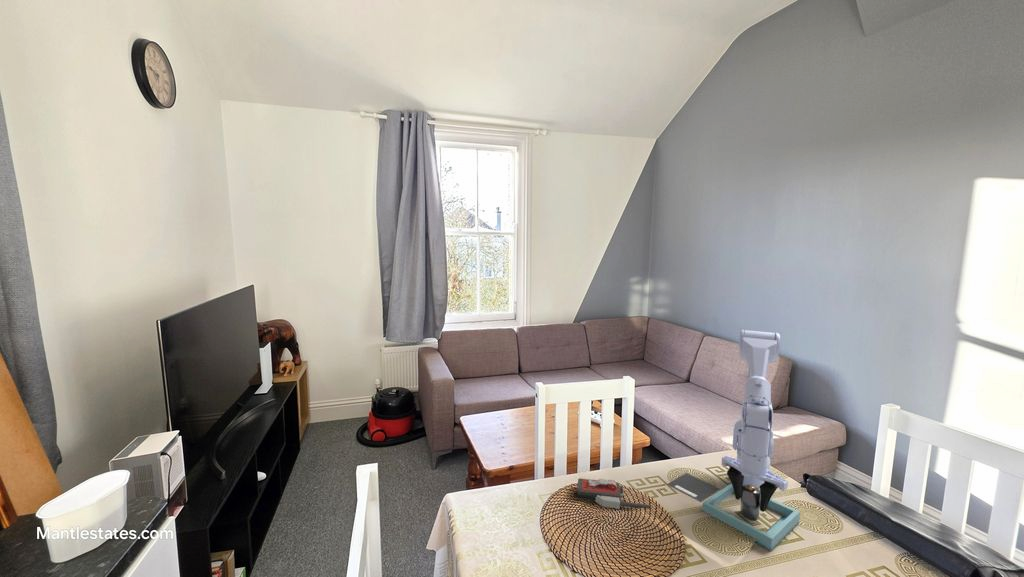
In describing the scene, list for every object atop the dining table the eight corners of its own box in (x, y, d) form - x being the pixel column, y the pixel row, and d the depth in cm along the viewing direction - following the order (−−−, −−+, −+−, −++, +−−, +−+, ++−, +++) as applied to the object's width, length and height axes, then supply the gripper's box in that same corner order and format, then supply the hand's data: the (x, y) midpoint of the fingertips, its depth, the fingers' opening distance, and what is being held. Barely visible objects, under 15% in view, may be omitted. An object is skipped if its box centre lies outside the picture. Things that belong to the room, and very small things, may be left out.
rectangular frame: (732, 491, 114) (733, 481, 114) (799, 523, 101) (800, 511, 101) (702, 513, 104) (702, 502, 104) (771, 551, 92) (772, 538, 91)
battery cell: (744, 509, 106) (746, 480, 105) (761, 517, 102) (763, 487, 102) (737, 515, 103) (739, 485, 102) (754, 523, 100) (756, 493, 99)
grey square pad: (686, 476, 122) (686, 472, 122) (719, 492, 114) (720, 488, 114) (666, 487, 116) (666, 483, 116) (700, 505, 108) (700, 501, 108)
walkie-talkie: (572, 505, 108) (651, 515, 105) (572, 489, 108) (652, 498, 104) (573, 486, 117) (647, 494, 113) (574, 471, 116) (647, 479, 113)
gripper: (716, 444, 104) (713, 495, 106) (780, 469, 93) (776, 526, 94) (730, 437, 109) (727, 485, 110) (792, 460, 97) (788, 514, 98)
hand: (750, 503), depth 102 cm, fingers open, 5 cm apart
